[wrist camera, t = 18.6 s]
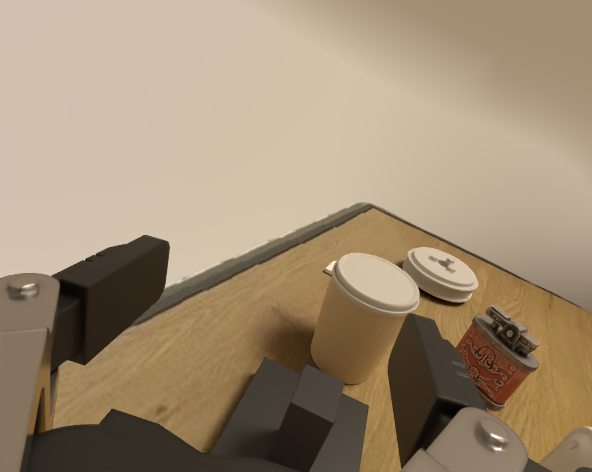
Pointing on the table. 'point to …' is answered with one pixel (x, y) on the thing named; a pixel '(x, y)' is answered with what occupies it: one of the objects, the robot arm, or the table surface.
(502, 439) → the robot arm
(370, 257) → the coffee cup
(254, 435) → the cover
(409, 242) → the table surface
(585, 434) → the photo printer
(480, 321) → the lighter
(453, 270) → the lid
